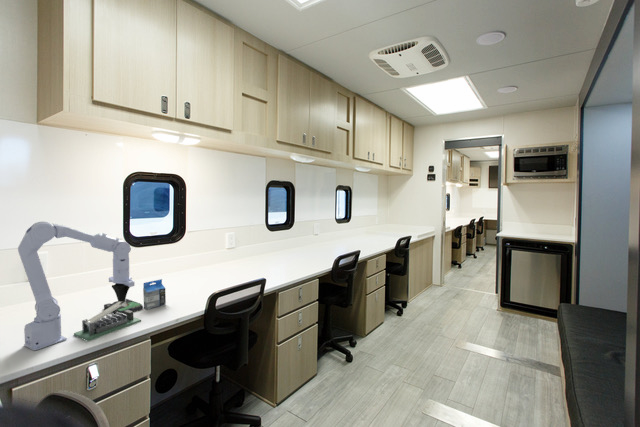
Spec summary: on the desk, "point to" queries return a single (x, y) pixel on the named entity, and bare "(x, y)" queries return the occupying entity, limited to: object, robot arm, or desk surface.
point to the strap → (106, 312)
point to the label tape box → (154, 294)
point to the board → (130, 321)
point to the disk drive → (130, 306)
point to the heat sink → (104, 323)
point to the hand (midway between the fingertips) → (121, 300)
